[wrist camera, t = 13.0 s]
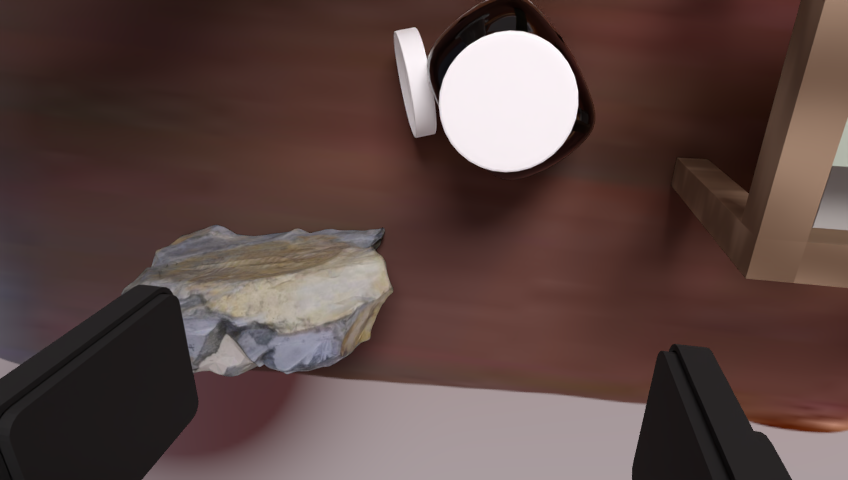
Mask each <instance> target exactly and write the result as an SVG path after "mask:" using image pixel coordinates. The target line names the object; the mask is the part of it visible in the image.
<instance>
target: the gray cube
mask: <svg viewBox="0 0 848 480" xmlns="http://www.w3.org/2000/svg"><path fill="white" fill-rule="evenodd" d="M812 228H825V229H838V230H848V167H844V166H832V167H831V170H830V173H829V177H828V180H827V183H826V186H825V189H824V192H823V195H822V198H821V201H820V204H819V207H818V210H817V213H816V216H815V219H814V222H813V225H812Z"/></svg>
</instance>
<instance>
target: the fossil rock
mask: <svg viewBox="0 0 848 480" xmlns="http://www.w3.org/2000/svg"><path fill="white" fill-rule="evenodd" d="M384 231H385V229H384V228H383V227H382V228H381V229H374V230H367V231H358V230H348V231H341V230H334V229H325V230H322V231H318V232H313V233H308V232H305V231H303V230H301V229H294V230H292V231H290V232H284V233H275V234H268V235H262V236H246V235H237V234H235V233H233V232H232V231H230V230H228V229H227V228H225V227H222V226H219V225H214V226H210V227H208V228H206V229H202V230H198V231H196V232H194V233H191V234H188V235H182V236H181V237H180V238H178V239H177V240H176V241H175V242H174V243H172V244H170V246H167V247H164V248H161V249H159V250H157V251H156V254H155V257H154V260H153V263H152V267H150V268H146V269H145V270H144V271H143V272H142V273H141V274H140V275H139V277H138V278H137V279H136V280H135V281H134V282H132V283H131V284H129V285H128V286H127V287H126V288H124V289H123V292H122V294H121V295H123V294H124V293H126V292H127V291H129V290H130V289H132V288H133V287H135V286H137V285H151V286H160V287H167V288H169V289H170V290H171V291H172V293H173V295H174V296H176V297H177V298H178V299H179V302H180V307H181V312H182V317H183V323H184V328H185V333H186V338H187V344H188V349H189V354H190V359H191V364H192V370H193V374H194V373H196V372H200V371H212V372H214V373H217V374H220V375H223V376H231V377H232V376H237V375H240V374H242V373H244V372H246V371H248V370H250V369H253V368H255V367H257V366H259V367H261V366H262V365H264V364H265V365H266V366H267V367H268V368H271V369H274V370H278V371H281V372H284V373H285V374H289V373H292V372H297V371H310V370H313V369H317V368H320V367H329V366H331V365H333V364H335V363H336V362H338V361H340V360H341V359H343V358H345V357H347V356H348V355H349V354H351V353H352V352H353V350H354V349H355V348H356V347H357V346H358V345H359V344H360V343H361V342H364V341H367V340H369V339H370V338H371V334H370V333H371V329H372V326H373V324H374V321H375V319H376V316H377V314H378V312H379V310H380V308H381V306H382V304H383V303H384V302H385V300H386V298H387V297H388V296H389V295H390V294H392V293H393V287H392V286H391V283H390V281H389V278H388V274H387V269H386V262H385V260H384V259H383V257H382V256H381V255H380V254H378V253H377V252H376V249H377V248H378V247H379V246H380V243H381V240H382V238H383V235H384Z"/></svg>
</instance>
